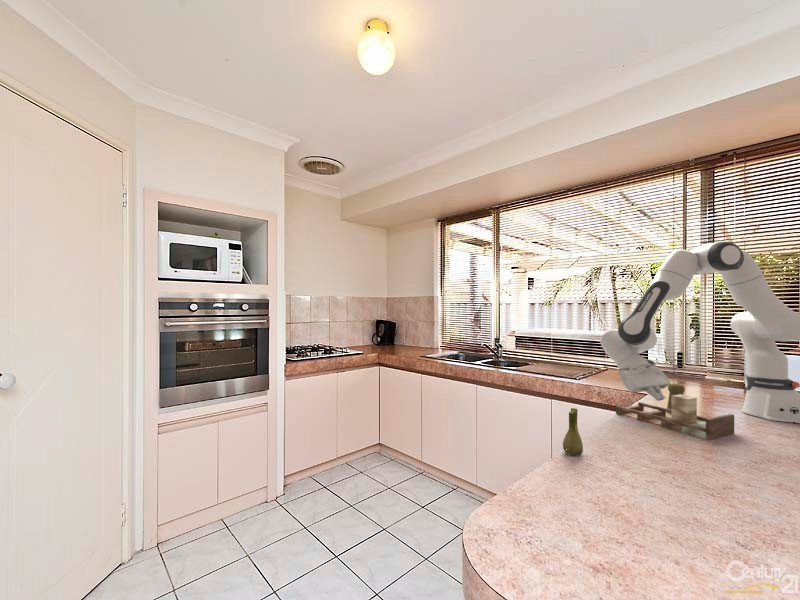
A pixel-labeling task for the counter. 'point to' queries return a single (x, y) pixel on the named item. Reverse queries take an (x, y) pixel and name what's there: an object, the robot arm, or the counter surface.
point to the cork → (674, 392)
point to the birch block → (684, 408)
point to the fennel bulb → (573, 436)
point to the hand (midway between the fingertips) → (661, 399)
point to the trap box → (701, 428)
